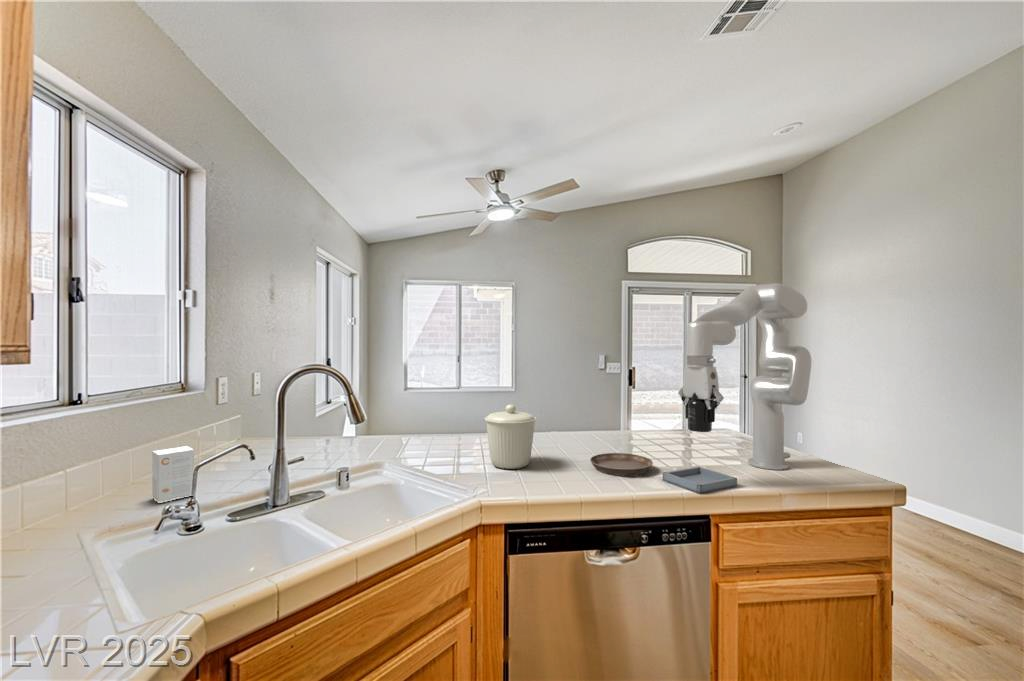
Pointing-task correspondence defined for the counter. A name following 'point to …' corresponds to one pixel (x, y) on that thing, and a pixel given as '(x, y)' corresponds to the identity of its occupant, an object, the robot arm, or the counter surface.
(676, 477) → the tray
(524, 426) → the canister
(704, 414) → the supplement bottle
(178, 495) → the small box
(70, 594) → the counter surface
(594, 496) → the counter surface
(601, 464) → the plant saucer
